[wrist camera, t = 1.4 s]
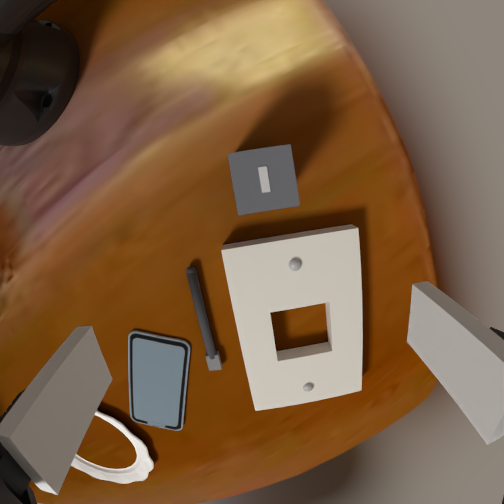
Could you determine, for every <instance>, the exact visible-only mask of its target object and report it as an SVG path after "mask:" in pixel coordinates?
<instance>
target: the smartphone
mask: <svg viewBox="0 0 504 504" xmlns="http://www.w3.org/2000/svg"><path fill="white" fill-rule="evenodd" d="M189 358H190V345H189V343H188V342H187V341H185V340H182V339H175V338H171V337H166V336H160V335H156V334H152V333H146V332H142V331H141V332H140V331H138V330H134V331H132V332H131V333H130V334H129V336H128V372H129V400H130V416H131V418H132V420H134V421H135V422H138V423H142V424H146V425H150V426H155V427H160V428H165V429H170V430H175V431H178V430H181V429H182V428H183V421H184V412H185V402H186V400H185V398H186V387H187V377H188V367H189Z"/></svg>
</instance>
